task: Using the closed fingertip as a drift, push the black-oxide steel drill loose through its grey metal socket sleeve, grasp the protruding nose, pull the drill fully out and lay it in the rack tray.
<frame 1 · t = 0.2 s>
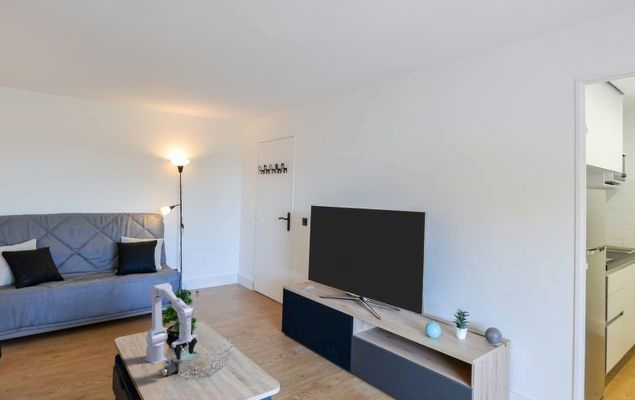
hand: (184, 356, 184), 10 cm above the table, fingers open, 7 cm apart
socket: (178, 369, 190), on the table
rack: (184, 359, 202), on the table
drill: (174, 372, 187), on the table
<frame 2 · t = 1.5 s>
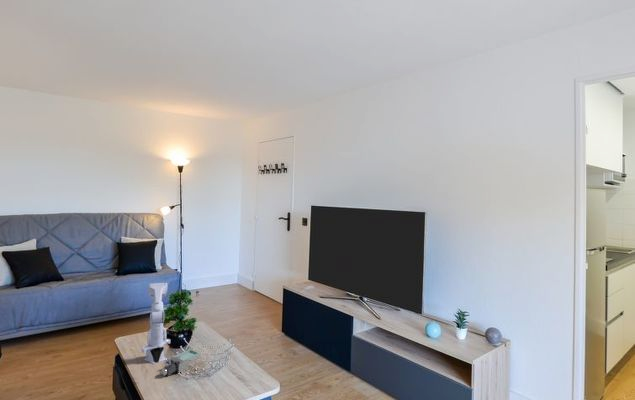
hand: (156, 361, 178), 9 cm above the table, fingers closed
nothing on the table moved.
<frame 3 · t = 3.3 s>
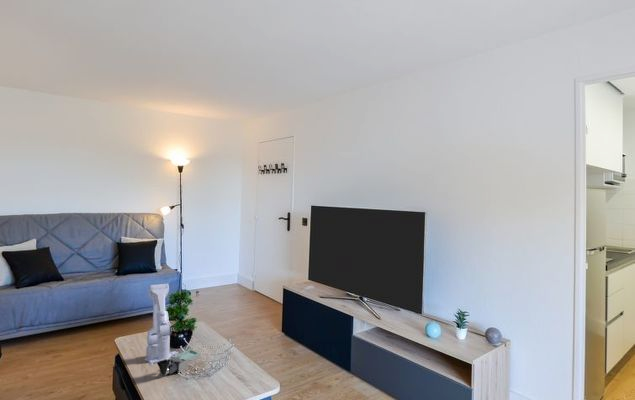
hand: (163, 373, 182), 2 cm above the table, fingers closed
drill: (175, 371, 188), on the table, touching gripper
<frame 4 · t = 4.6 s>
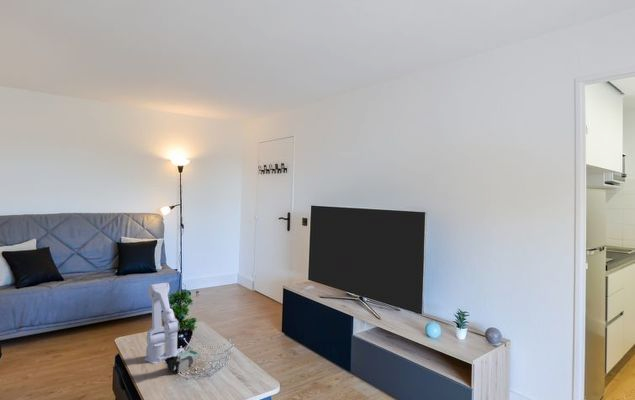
hand: (170, 370, 186), 2 cm above the table, fingers closed
drill: (183, 367, 192), on the table, touching gripper
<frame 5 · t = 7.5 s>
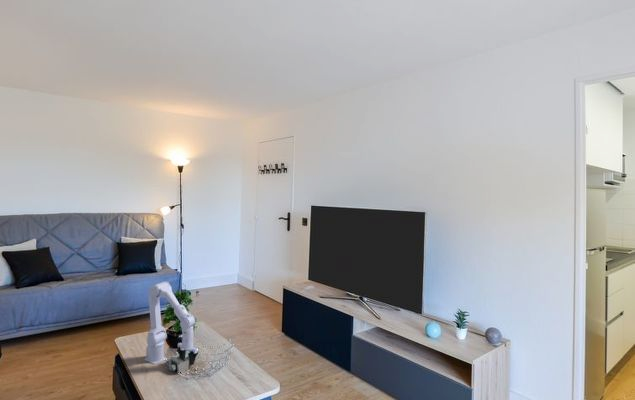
hand: (187, 362, 194), 2 cm above the table, fingers open, 7 cm apart
drill: (183, 367, 192), on the table, tilted 6°
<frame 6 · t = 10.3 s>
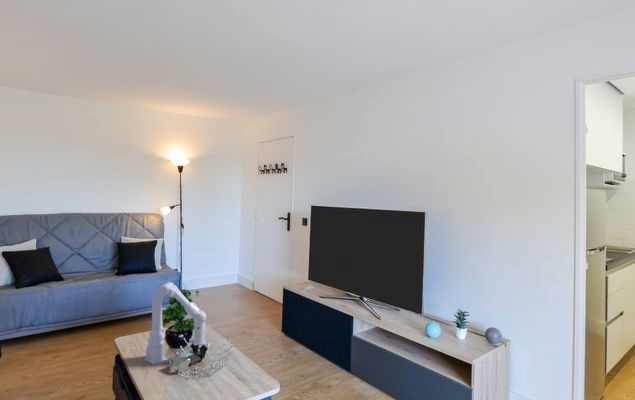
hand: (199, 357, 201), 2 cm above the table, fingers closed on drill, 5 cm apart
drill: (196, 361, 199), on the table, touching gripper
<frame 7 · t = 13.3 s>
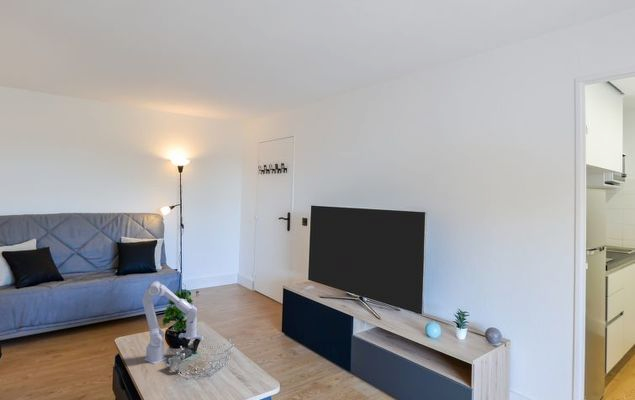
hand: (190, 351, 206), 3 cm above the table, fingers closed on drill, 5 cm apart
drill: (189, 354, 204), point 2 cm above the table, tilted 20°, touching gripper, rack
when the fingers open (3 cm above the table, at t = 13.3 s): drill stays where it is, resting on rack.
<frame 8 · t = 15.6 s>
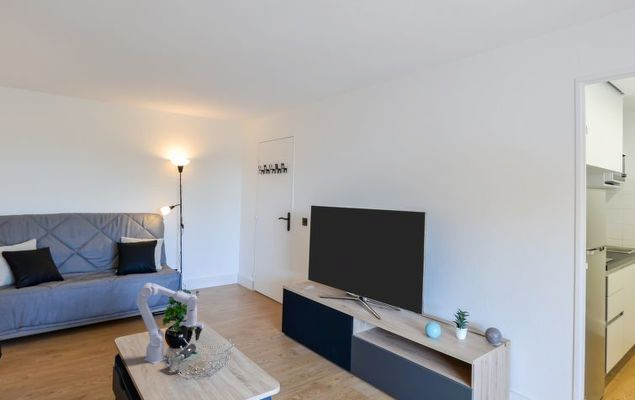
hand: (191, 339, 206), 10 cm above the table, fingers open, 7 cm apart
drill: (189, 355, 204), point 1 cm above the table, tilted 27°, touching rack
at the end: drill inside the target area on the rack (2.5 cm from its centre), point 1.4 cm above the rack's base; the gripper is holding nothing; drill touching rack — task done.
